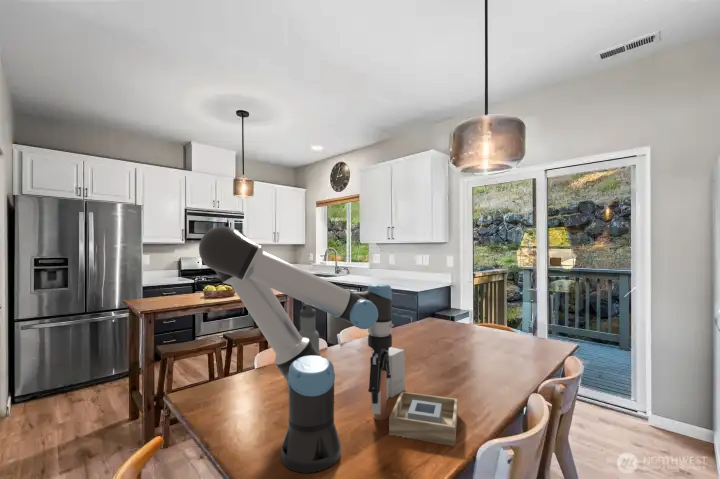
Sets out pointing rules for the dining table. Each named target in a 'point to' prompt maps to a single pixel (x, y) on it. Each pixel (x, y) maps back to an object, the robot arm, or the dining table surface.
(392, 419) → the crate
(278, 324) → the robot arm
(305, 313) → the water bottle
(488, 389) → the dining table surface
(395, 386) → the supplement box
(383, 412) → the peg
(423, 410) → the socket
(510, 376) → the dining table surface
